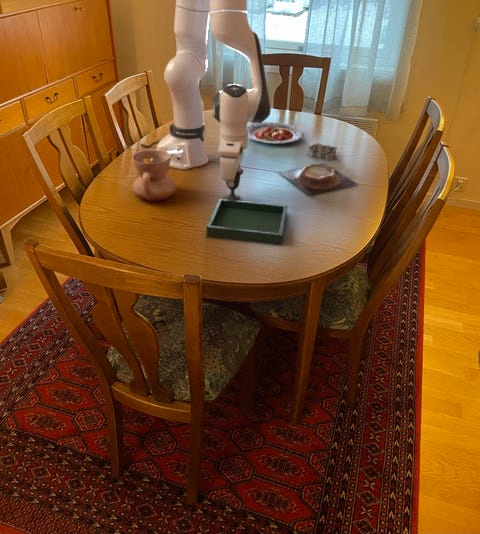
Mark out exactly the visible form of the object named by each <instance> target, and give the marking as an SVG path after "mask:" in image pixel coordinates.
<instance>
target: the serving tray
mask: <svg viewBox="0 0 480 534" xmlns="http://www.w3.org/2000/svg"><path fill="white" fill-rule="evenodd" d="M287 214H288V205H284V204H277V203H276V204H274V203H266V202H255V201H249V200H248V201H247V200H229V199H225V198H219V199H218V201H217V203H216V205H215V207H214V210H213V212H212V214H211V216H210V219H209V221H208V223H207V225H206V237H209V238H217V239H226V240H233V241H243V242H253V243H260V244H270V245H277V246H281V245H282V241H283V236H284V230H285V225H286V221H287V220H286V219H287Z"/></svg>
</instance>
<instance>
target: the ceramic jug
mask: <svg viewBox="0 0 480 534" xmlns="http://www.w3.org/2000/svg"><path fill="white" fill-rule="evenodd" d="M145 159H150V162H145V161H144V160H145ZM151 159H153V160H152V161H151ZM170 160H171V155H170V153H169V152H167V151H165V150H161V149H159V150H156V148H146V149H142V150H139V151H137V152H135V153H134V154H133V155H132V157H131V161H132V163H133V166H134V168H135V170H136V172H137V174H138V175H139V177H138V178H137V179H135V181H134V182H133V183H132V186H131V187H132V188H131V190H132V193H133V194H134V195H135V196H136V197H137V198H138V199H141V200H144V201H148V202H157V201H158V202H159V201H163V200H167V199H168V198H170V197H172V196H173V195H174V194H175V193H176V190H177V184H176V182H175V180H174V179H173V178H172V177H171V176H169V175H167V174H168V172H169V168H170V167H169V166H170Z"/></svg>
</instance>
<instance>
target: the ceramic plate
mask: <svg viewBox="0 0 480 534" xmlns="http://www.w3.org/2000/svg"><path fill="white" fill-rule="evenodd" d="M247 128H248V139H250V140H253V141H256V142H260V143H264V144H276V145H277V144H278V145H280V144H290V143H294V142H296V141H299V140H300V139H301V138H302V137H303V134H304V133H303V131H302V130H301V129H300V128H298V127H296V126H295V125H291V124H289V123H283V122H275V121H273V122H272V121H271V122H270V121H269V122H268V121H267V122H265V121H263V122H262V123H253V124H250V125H247Z"/></svg>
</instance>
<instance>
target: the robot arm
mask: <svg viewBox="0 0 480 534" xmlns="http://www.w3.org/2000/svg"><path fill="white" fill-rule="evenodd" d="M209 23H210V30H211V34H212V35H213V37H214V39H215V40H217V42H219V43H220V44H221V45H223V46H224V47H227V48H229V49H232V50H234V51H235V52H238V53H240V54H242V55H243V56H244V57H245V58H246V59H247V60H248V64H249V69H250V77H251V83H252V88H251V89H246V88H245V86H242V85H240V84H234V83H233V84H227V85H225V86H223V87H222V89H221V90H218V91H217V92H216V93H215V95H214V96H213V97H212V107H213V108H212V117H213V118H214V119H215V121H217V122H218V123H220V128H219V145H218V150H217V151H218V156H219V157H220V159H219V160H220V161H219V162H220V163H219V164H220V177H221V180H222V181H223V182H224V181H225V182H226V181H228V186H229V187H233V186H234V182H235V180H234V178H235V176H236V173H237V171H238V168H239V166H240V167H241V163H242V161H243V159H244V155H245V154H244V153H245V150H247V149H248V146H249V145H248V144H249V137H248V128H247V127H248V123H253V124H256V123H264V122H265V121H266V120H267V119H268V118H269V117H270V115H271V110H272V105H271V99H270V95H269V91H268V86H267V79H266V78H267V77H266V72H265V65H264V59H263V58H264V57H263V53H262V46H261V41H260V39H259V36H258V34H257V33H256V32H254V31H253V30H252V28H251V26H250V23H249V19H248V0H175V10H174V23H173V34H174V36H175V37H174V38H175V43H176V44H175V45H176V52H175V56H174V57H172V58H171V59H170V60H169V61H168V62H167V64H166V66H165V69H164V71H163V72H164V73H163V78H164V82H165V84H166V85H167V86H168V90H169V93H170V98H171V102H172V110H173V111H172V113H173V120H172V121H171V122H170V125H169V127H168V134H166V135H165V136H164V137H162V138H160V139H157V141H153V142H152V143H150V144H148V145H146V144H144V143H140V146H141V147H144V148H146V149H149V148H151V147H153V146H154V145H156V144H157V145H156V148H155V149H156V150H159V149H161V150H165V151H167V152H169V153H170V155H171V160H170V166H169V168H174V169H179V170H188V169H191V168H196V167H200V166H203V165H206V164H207V163H208V162H209V161H210V159H209V155H208V153H207V152H208V151H207V146H206V124H205V123H204V102H203V99H202V97H201V91H200V81H201V80H202V78H203V77H204V76H205V74H206V72H207V68H208V44H207V43H208V41H207V40H208V30H209ZM152 160H153V159H150V162H151V161H152Z"/></svg>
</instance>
